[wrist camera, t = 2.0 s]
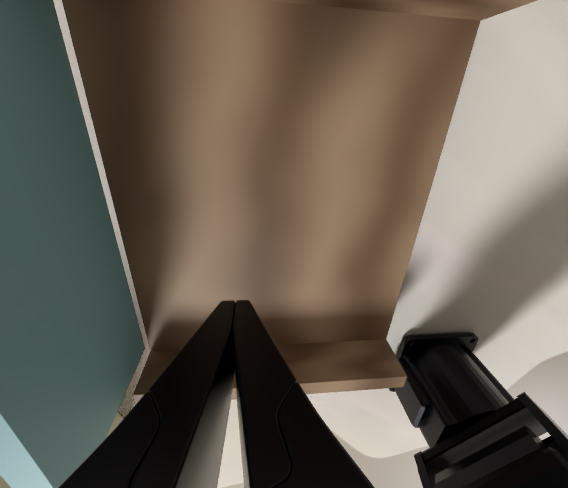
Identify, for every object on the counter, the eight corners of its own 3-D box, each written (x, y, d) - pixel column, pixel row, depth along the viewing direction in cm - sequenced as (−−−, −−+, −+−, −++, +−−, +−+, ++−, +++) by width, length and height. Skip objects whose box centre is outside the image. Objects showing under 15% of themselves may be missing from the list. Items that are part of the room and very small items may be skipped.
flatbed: (456, 4, 13) (567, -49, 8) (372, 328, 22) (403, 387, 17) (80, -33, 11) (-40, -128, 6) (162, 338, 20) (136, 406, 15)
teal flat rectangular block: (50, -9, 10) (-530, -328, 2) (144, 348, 17) (72, 515, 10) (-1, -13, 9) (-787, -371, 2) (118, 349, 17) (26, 520, 10)
